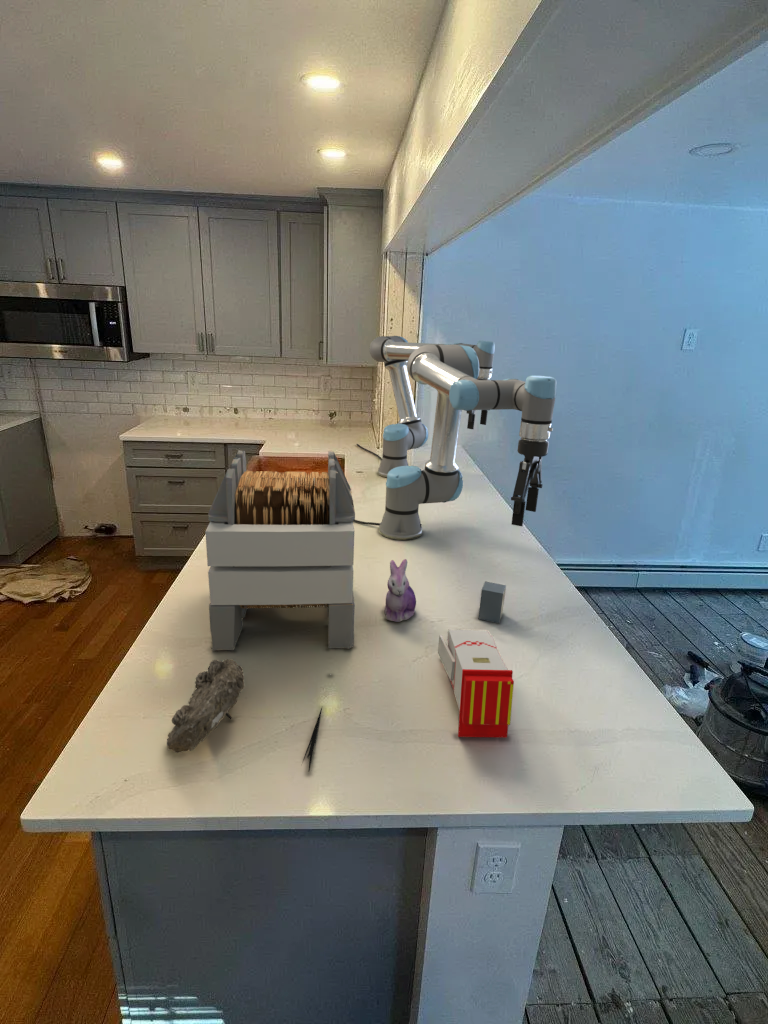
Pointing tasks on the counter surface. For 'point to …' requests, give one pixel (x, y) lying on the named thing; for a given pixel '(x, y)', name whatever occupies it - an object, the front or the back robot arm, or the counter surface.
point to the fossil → (206, 705)
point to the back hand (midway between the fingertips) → (476, 426)
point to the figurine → (399, 594)
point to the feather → (313, 740)
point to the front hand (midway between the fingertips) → (524, 517)
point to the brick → (492, 602)
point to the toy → (478, 682)
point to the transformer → (281, 548)
